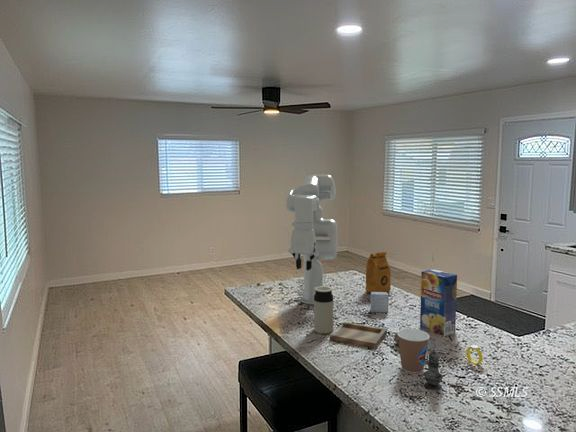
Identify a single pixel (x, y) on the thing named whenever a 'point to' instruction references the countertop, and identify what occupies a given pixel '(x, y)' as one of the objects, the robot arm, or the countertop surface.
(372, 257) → the coffee package
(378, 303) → the medicine box
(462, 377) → the countertop surface
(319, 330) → the travel mug
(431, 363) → the grey stone figurine
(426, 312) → the juice carton
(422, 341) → the coffee cup
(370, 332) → the walnut tray
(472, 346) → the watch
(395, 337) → the skull
